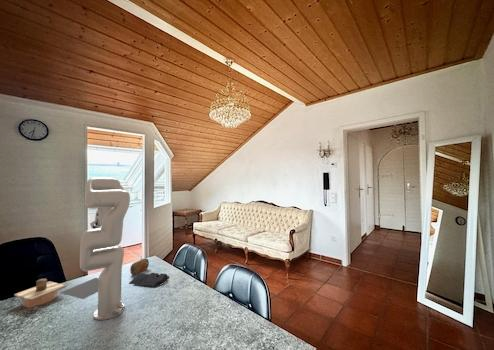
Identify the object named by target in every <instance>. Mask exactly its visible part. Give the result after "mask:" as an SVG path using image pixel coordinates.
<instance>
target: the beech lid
mask: <svg viewBox="0 0 494 350" xmlns="http://www.w3.org/2000/svg"><path fill="white" fill-rule="evenodd" d="M35 285H36V286H33V287H30V288H28V289H25V290H22V291H19V292H17V293H14V294H13V295H14V297H17V298H20V299H26V300H29V301H33V300H35V299H38V298H40V297H43V296H45V295H47V294H50V293H52V292H55V291H57V292H58V291H59V290H62V289H64V288H67V284H62V283H58V282H54V281H50V280H49V281H48V279H47V278H46V277H45V278H40V279H38V280H36V281H35Z"/></svg>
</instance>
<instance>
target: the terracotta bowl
mask: <svg viewBox="0 0 494 350" xmlns="http://www.w3.org/2000/svg"><path fill="white" fill-rule="evenodd" d="M57 296H58V290H57V291H55V292H52V293H50V294H47V295H45V296H43V297H40V298H38V299H35V300H33V301H29V300H26V299H23V298H22V299H23V304H22V306H23V307H26V308H34V307H37V306H41V305H44V304H46V303H48V302H50V301H53V300H55V298H56V297H57Z"/></svg>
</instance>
